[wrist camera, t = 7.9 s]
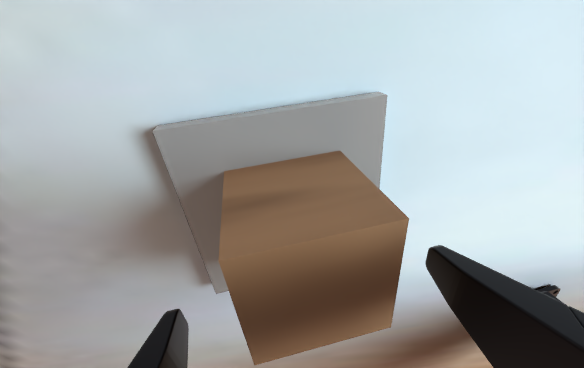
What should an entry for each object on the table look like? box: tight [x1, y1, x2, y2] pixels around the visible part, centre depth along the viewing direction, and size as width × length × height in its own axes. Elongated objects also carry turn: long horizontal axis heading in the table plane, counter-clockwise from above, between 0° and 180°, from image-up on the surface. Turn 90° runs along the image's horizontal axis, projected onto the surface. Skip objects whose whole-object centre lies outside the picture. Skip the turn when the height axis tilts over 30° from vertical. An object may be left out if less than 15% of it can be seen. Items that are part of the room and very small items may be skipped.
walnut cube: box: [218, 151, 409, 365], centre depth 11 cm, size 6×6×6 cm
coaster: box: [153, 92, 387, 294], centre depth 13 cm, size 10×10×1 cm
